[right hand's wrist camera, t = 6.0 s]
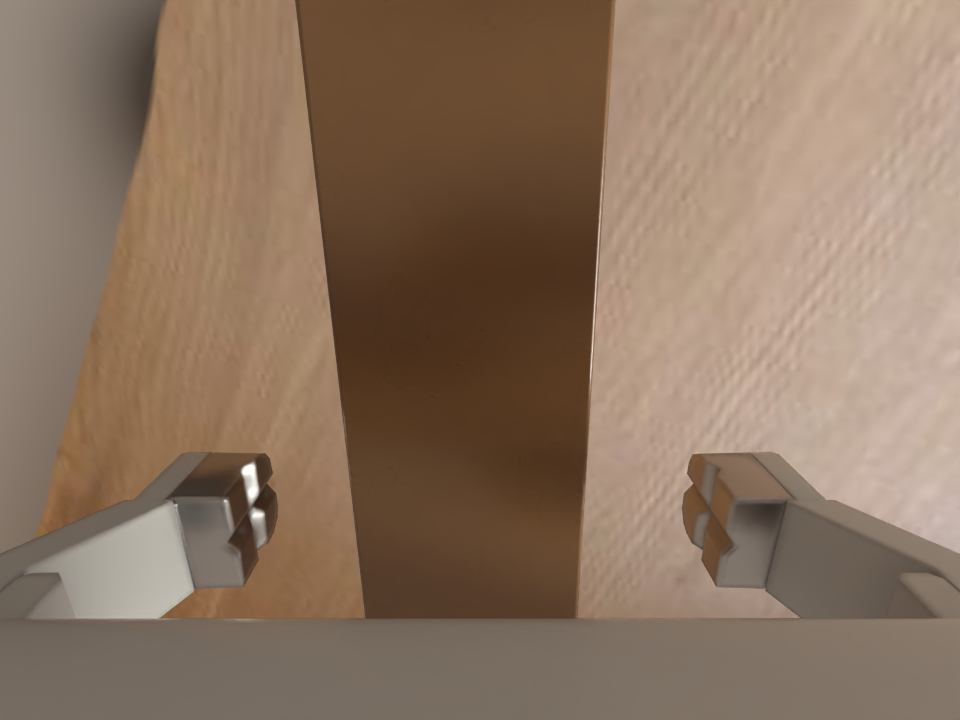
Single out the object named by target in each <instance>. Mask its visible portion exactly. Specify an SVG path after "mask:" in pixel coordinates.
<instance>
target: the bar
mask: <svg viewBox="0 0 960 720" xmlns="http://www.w3.org/2000/svg"><path fill="white" fill-rule="evenodd" d="M295 2H296V11H297V20H298V28H299V37H300V46H301V55H302V64H303V72H304V81H305V90H306V99H307V108H308V116H309V125H310V134H311V143H312V152H313V160H314V169H315V178H316V187H317V196H318V204H319V213H320V222H321V231H322V239H323V248H324V257H325V266H326V275H327V283H328V292H329V301H330V310H331V319H332V327H333V336H334V345H335V354H336V363H337V371H338V380H339V389H340V398H341V407H342V415H343V424H344V433H345V442H346V451H347V459H348V468H349V477H350V486H351V495H352V503H353V512H354V521H355V530H356V539H357V547H358V556H359V565H360V574H361V583H362V591H363V600H364V609H365V618H366V619H577V614H578V598H579V582H580V566H581V549H582V533H583V517H584V501H585V485H586V469H587V452H588V436H589V420H590V404H591V388H592V371H593V355H594V339H595V323H596V307H597V291H598V274H599V258H600V242H601V226H602V210H603V193H604V177H605V161H606V145H607V129H608V113H609V96H610V80H611V64H612V48H613V32H614V16H615V0H295Z"/></svg>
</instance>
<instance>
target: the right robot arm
mask: <svg viewBox="0 0 960 720" xmlns="http://www.w3.org/2000/svg"><path fill="white" fill-rule="evenodd" d="M272 474H273V472H272V467H271V462H270V458H269V457H268V456H267V455H266V454H265V453H217V452H215V453H212V452H189V453H183V454H181V455H180V456H179V457H178V458H177V459H176V460H175V461H174V462H173V463H172V464H171V465H170V466H169V467H168V468H167V469H166V470H165V471H164V472H163V473H161V474H160V475H159V476H158V477H157V478H156V479H155V480H154V481H153V482H152V483H151V484H150V485H149V486H148V487H147V488H146V489H145V490H144V491H143V492H142V493H141V494H140V495H139V496H138V497H137V498H135V499H134V500H124V501H122V502H120V503H117V504H115V505H113V506H110V507H108V508H106V509H103V510H101V511H99V512H96V513H94V514H92V515H90V516H87V517H85V518H83V519H80V520H78V521H76V522H73V523H71V524H69V525H66V526H64V527H62V528H59V529H57V530H55V531H52V532H50V533H48V534H45V535H43V536H41V537H38V538H36V539H34V540H31V541H29V542H27V543H24V544H22V545H20V546H17V547H15V548H13V549H10V550H8V551H6V552H4V553H1V554H0V720H960V554H959V553H956V552H954V551H952V550H949V549H947V548H945V547H942V546H940V545H938V544H935V543H933V542H931V541H928V540H926V539H924V538H921V537H919V536H917V535H914V534H912V533H910V532H908V531H905V530H903V529H901V528H898V527H896V526H894V525H891V524H889V523H887V522H884V521H882V520H880V519H877V518H875V517H873V516H870V515H868V514H866V513H863V512H861V511H859V510H856V509H854V508H852V507H850V506H847V505H845V504H843V503H840V502H838V501H836V500H826V499H825V498H824V497H822V496H821V495H820V494H819V493H818V492H817V491H816V490H815V489H814V488H813V487H812V486H811V485H810V484H809V483H808V482H807V481H806V480H805V479H804V478H803V477H802V476H801V475H800V474H799V473H798V472H797V471H796V470H795V469H793V468H792V467H791V466H790V465H789V464H788V463H787V462H786V461H785V460H784V459H783V458H782V457H781V456H780V455H779V454H776V453H774V452H755V453H714V454H693V455H692V457H691V459H690V461H689V466H688V472H687V474H688V476H689V477H690V479H691V480H692V482H693V483H694V484H693V485H692V486H691V487H690V488H689V489H688V490H687V491H686V492H685V493H684V497H683V505H682V513H683V523H684V526H685V530H686V533H687V535H688V537H689V539H690V541H691V542H692V543H693V544H694V545H696V546H697V547H699V548H700V549H702V550H703V553H702V559H701V560H702V562H703V564H704V566H705V567H706V569H707V571H708V573H709V574H710V576H711V578H712V580H713V582H714V583H715V585H716V587H732V588H766V590H765V591H767V592H768V593H769V594H770V595H772V596H773V597H774V598H776V599H777V600H778V601H780V602H781V603H782V604H783V605H785V606H786V607H787V608H789V609H790V610H791V611H792V612H794V613H795V614H796V615H798V616H799V617H800V618H596V619H343V618H160V617H161V616H163V615H164V614H165V613H166V612H168V611H169V610H170V609H172V608H173V607H174V606H175V605H177V604H178V603H179V602H181V601H182V600H183V599H185V598H186V597H187V596H188V595H190V594H191V593H192V592H194V588H227V587H244V585H245V583H246V582H247V580H248V578H249V576H250V575H251V573H252V571H253V569H254V567H255V566H256V564H257V562H258V560H259V559H258V553H257V550H258V549H260V548H261V547H263V546H264V545H266V544H267V543H268V542H269V540H270V539H271V537H272V535H273V533H274V530H275V525H276V521H277V516H278V503H277V497H276V493H275V492H274V491H273V490H272V489H271V488H270V487H269V486H268V485H267V484H266V483H267V482H268V480H269V479H270V477H271V476H272Z"/></svg>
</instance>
